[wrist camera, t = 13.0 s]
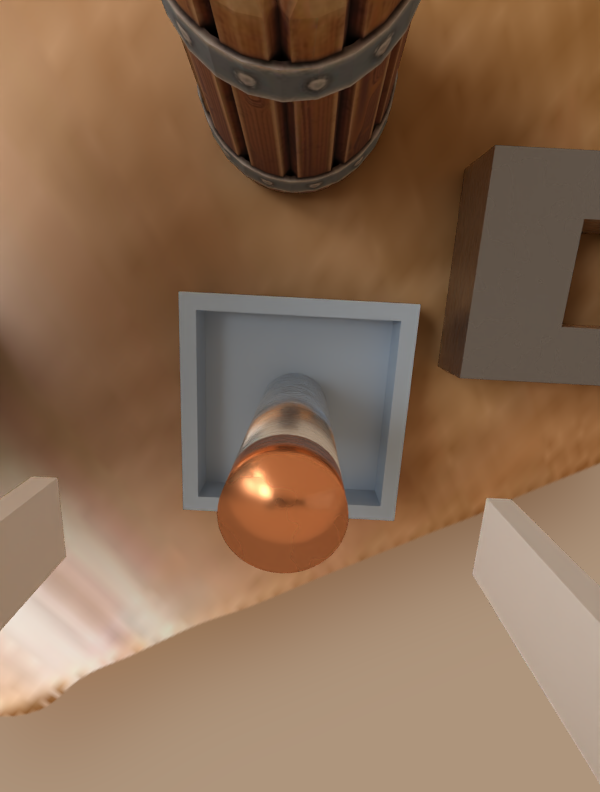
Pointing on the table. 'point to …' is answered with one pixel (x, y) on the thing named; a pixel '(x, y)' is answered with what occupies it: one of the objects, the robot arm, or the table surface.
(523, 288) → the hitch block
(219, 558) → the table surface
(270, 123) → the mug
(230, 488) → the pin
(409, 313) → the tray
